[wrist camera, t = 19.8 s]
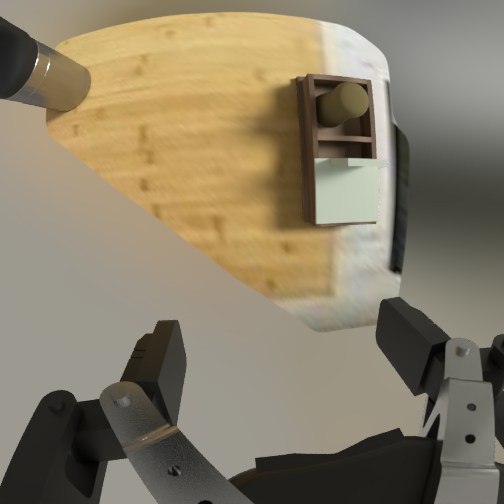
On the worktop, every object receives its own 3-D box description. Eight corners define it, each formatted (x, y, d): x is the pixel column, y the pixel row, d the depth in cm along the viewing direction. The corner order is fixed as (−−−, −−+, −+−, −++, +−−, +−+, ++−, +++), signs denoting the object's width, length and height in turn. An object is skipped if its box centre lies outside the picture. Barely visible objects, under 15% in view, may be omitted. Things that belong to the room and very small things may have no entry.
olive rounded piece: (312, 126, 43) (335, 117, 33) (310, 92, 41) (332, 73, 31) (346, 129, 44) (376, 121, 33) (344, 95, 42) (374, 80, 31)
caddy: (303, 220, 49) (310, 227, 44) (296, 78, 41) (303, 69, 37) (366, 217, 49) (379, 223, 45) (361, 83, 42) (374, 77, 37)
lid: (315, 223, 44) (331, 235, 36) (314, 158, 41) (330, 157, 33) (376, 220, 44) (400, 231, 37) (377, 160, 41) (402, 160, 34)
